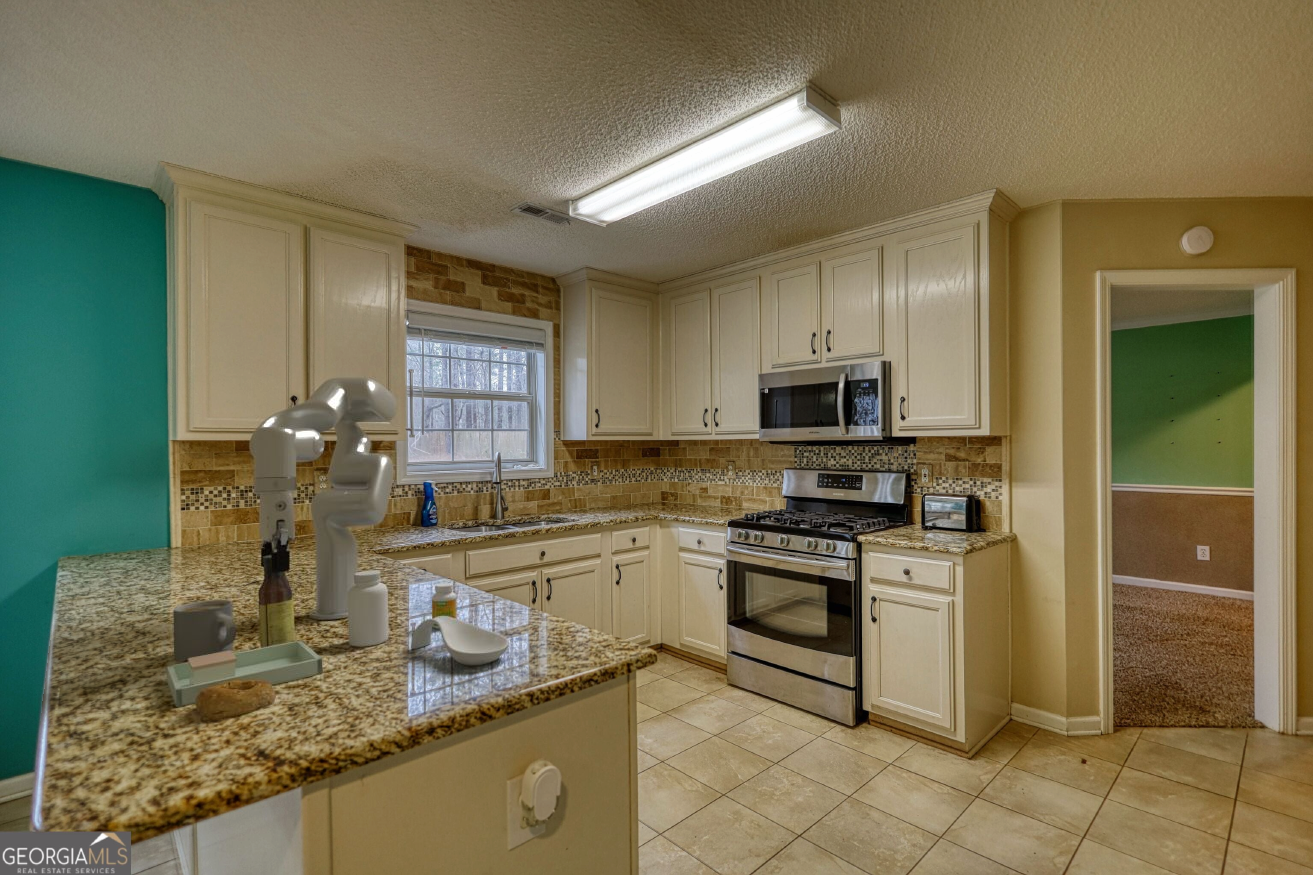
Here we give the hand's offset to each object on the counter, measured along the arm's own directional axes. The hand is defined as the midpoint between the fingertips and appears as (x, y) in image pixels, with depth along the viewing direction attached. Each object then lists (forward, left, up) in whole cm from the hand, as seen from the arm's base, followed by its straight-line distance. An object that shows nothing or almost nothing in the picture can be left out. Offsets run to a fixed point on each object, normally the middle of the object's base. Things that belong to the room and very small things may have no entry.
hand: (275, 568), depth 132 cm
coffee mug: (+11, -7, -17) cm, 22 cm away
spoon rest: (-26, +29, -18) cm, 43 cm away
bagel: (+11, +29, -18) cm, 36 cm away
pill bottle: (-16, +7, -17) cm, 25 cm away
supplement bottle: (-33, +7, -17) cm, 38 cm away
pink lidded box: (+13, +15, -17) cm, 25 cm away
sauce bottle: (0, 0, -17) cm, 17 cm away
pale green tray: (+8, +15, -17) cm, 24 cm away
